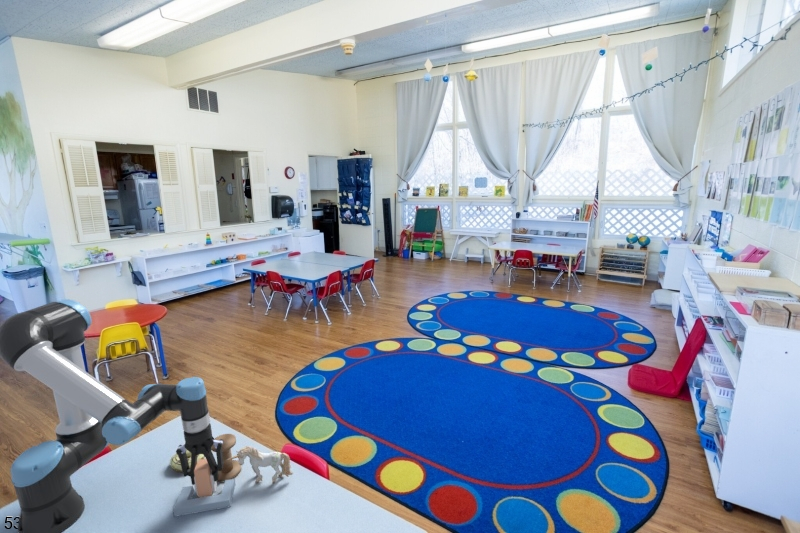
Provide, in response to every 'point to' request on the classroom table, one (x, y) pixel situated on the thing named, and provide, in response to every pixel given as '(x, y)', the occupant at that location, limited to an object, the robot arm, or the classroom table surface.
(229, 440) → the bobbin
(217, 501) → the u-shaped block
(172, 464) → the decorated donut
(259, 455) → the unicorn figurine
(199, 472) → the tab
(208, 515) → the classroom table surface
